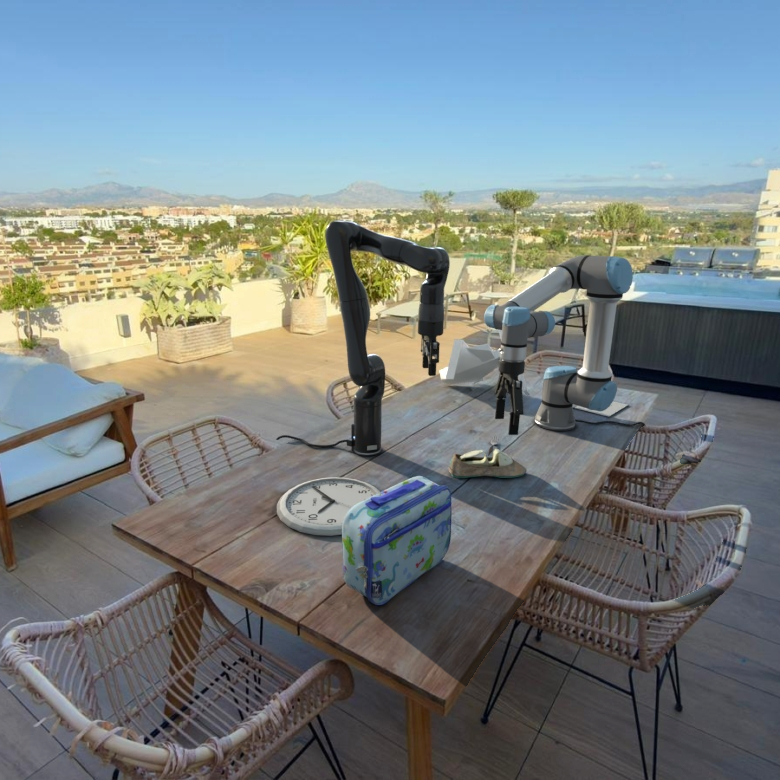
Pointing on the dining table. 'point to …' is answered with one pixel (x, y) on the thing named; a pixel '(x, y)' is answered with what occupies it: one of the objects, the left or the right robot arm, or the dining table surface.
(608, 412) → the invitation card
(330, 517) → the wall clock
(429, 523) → the lunch box
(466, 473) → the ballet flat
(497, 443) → the fork
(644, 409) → the dining table surface
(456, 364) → the white plastic object
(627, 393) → the dining table surface
